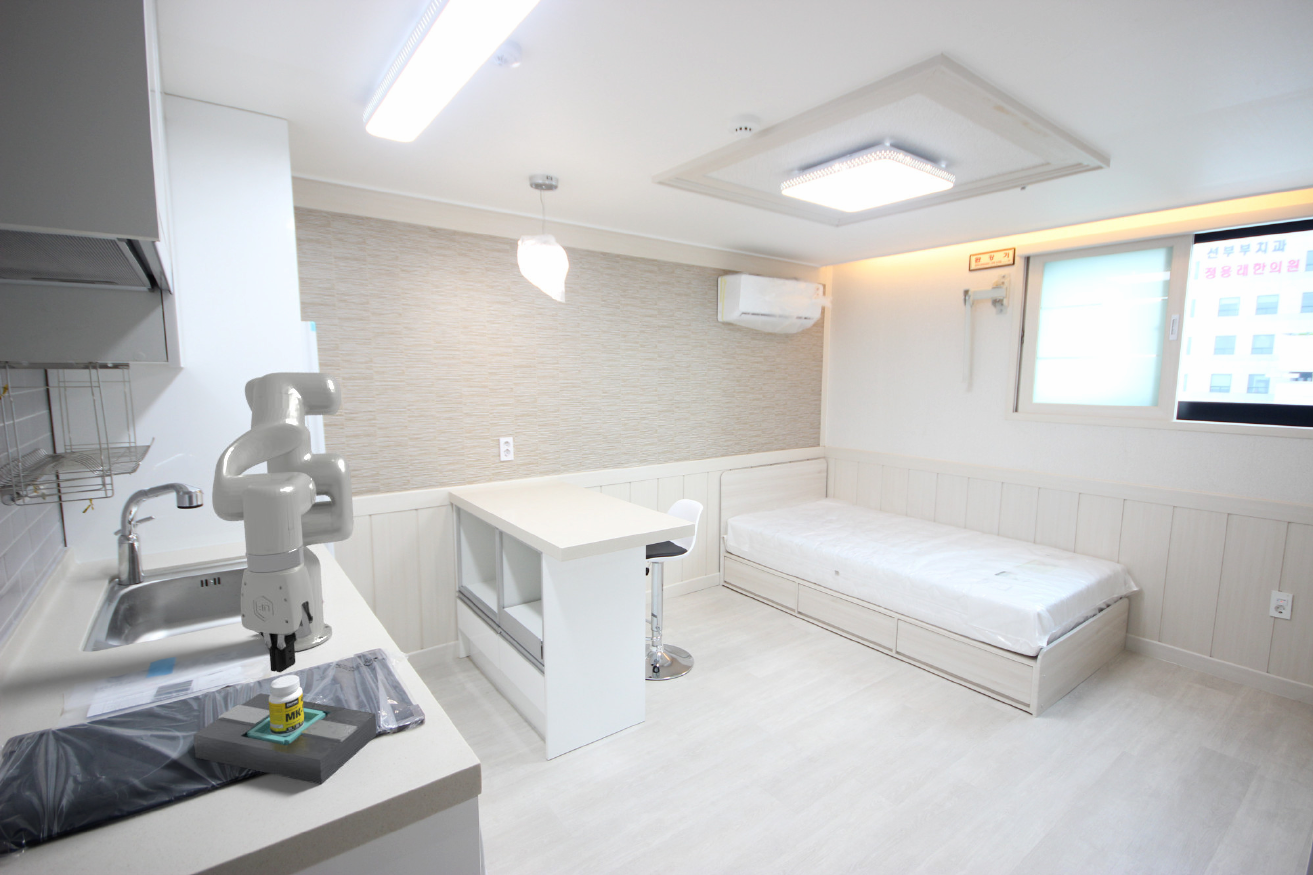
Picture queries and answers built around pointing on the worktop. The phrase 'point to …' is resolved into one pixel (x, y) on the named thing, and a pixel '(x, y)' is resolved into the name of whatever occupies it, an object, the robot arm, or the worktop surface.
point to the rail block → (300, 759)
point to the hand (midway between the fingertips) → (283, 667)
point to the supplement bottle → (286, 706)
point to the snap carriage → (265, 734)
